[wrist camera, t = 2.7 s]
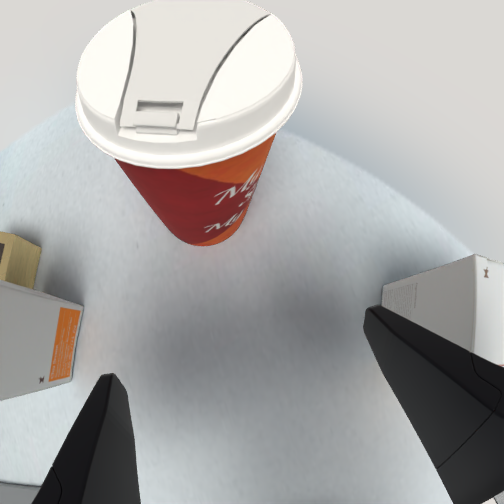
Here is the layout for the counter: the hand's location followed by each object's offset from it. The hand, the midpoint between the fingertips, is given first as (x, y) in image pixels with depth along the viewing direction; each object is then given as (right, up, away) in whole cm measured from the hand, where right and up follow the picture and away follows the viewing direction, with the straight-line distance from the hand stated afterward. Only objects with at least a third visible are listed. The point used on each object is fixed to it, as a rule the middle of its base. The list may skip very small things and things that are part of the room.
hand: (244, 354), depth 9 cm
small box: (+13, -3, +14) cm, 19 cm away
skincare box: (-14, -3, +11) cm, 18 cm away
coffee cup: (-3, +6, +14) cm, 16 cm away
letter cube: (-19, +1, +12) cm, 22 cm away
